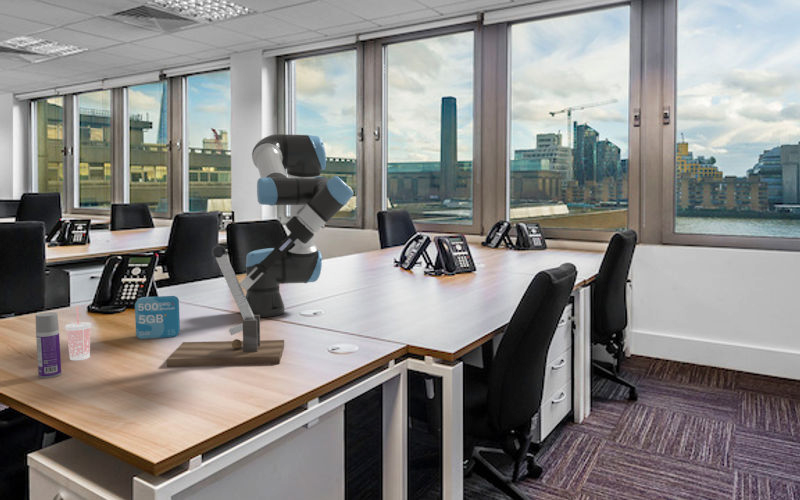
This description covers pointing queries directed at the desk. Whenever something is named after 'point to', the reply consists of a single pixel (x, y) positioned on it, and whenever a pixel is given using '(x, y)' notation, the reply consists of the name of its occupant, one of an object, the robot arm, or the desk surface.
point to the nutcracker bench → (230, 350)
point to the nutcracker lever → (233, 287)
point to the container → (48, 345)
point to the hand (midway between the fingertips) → (243, 286)
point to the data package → (157, 317)
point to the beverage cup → (78, 339)
